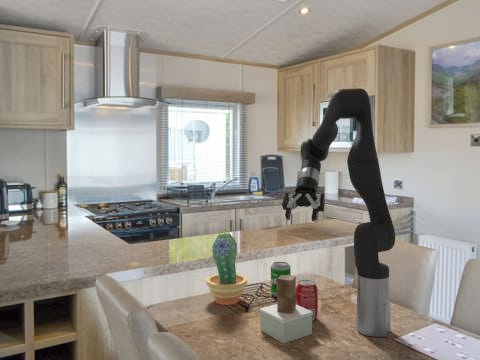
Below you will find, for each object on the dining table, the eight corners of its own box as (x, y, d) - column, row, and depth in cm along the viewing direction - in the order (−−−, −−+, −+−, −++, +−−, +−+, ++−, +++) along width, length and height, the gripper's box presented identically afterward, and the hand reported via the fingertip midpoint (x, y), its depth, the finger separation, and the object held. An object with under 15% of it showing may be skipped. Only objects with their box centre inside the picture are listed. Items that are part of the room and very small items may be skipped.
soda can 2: (304, 312, 145) (304, 277, 144) (322, 318, 140) (322, 282, 139) (291, 318, 140) (291, 282, 140) (309, 324, 135) (309, 287, 135)
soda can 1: (271, 290, 168) (271, 260, 168) (290, 291, 167) (290, 261, 167) (270, 297, 161) (270, 265, 160) (290, 298, 160) (290, 266, 159)
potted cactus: (197, 301, 157) (196, 234, 156) (225, 290, 169) (224, 228, 167) (228, 311, 147) (227, 239, 146) (256, 299, 159) (255, 232, 157)
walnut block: (295, 308, 131) (295, 276, 130) (292, 313, 126) (291, 280, 126) (281, 306, 132) (281, 274, 132) (277, 311, 128) (277, 278, 127)
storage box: (313, 334, 128) (312, 311, 128) (283, 344, 122) (283, 320, 122) (288, 322, 138) (288, 301, 137) (259, 330, 131) (259, 308, 131)
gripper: (286, 175, 153) (277, 211, 143) (326, 175, 148) (319, 213, 138) (290, 189, 158) (281, 224, 149) (329, 189, 153) (323, 227, 143)
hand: (300, 219), depth 143 cm, fingers open, 8 cm apart
